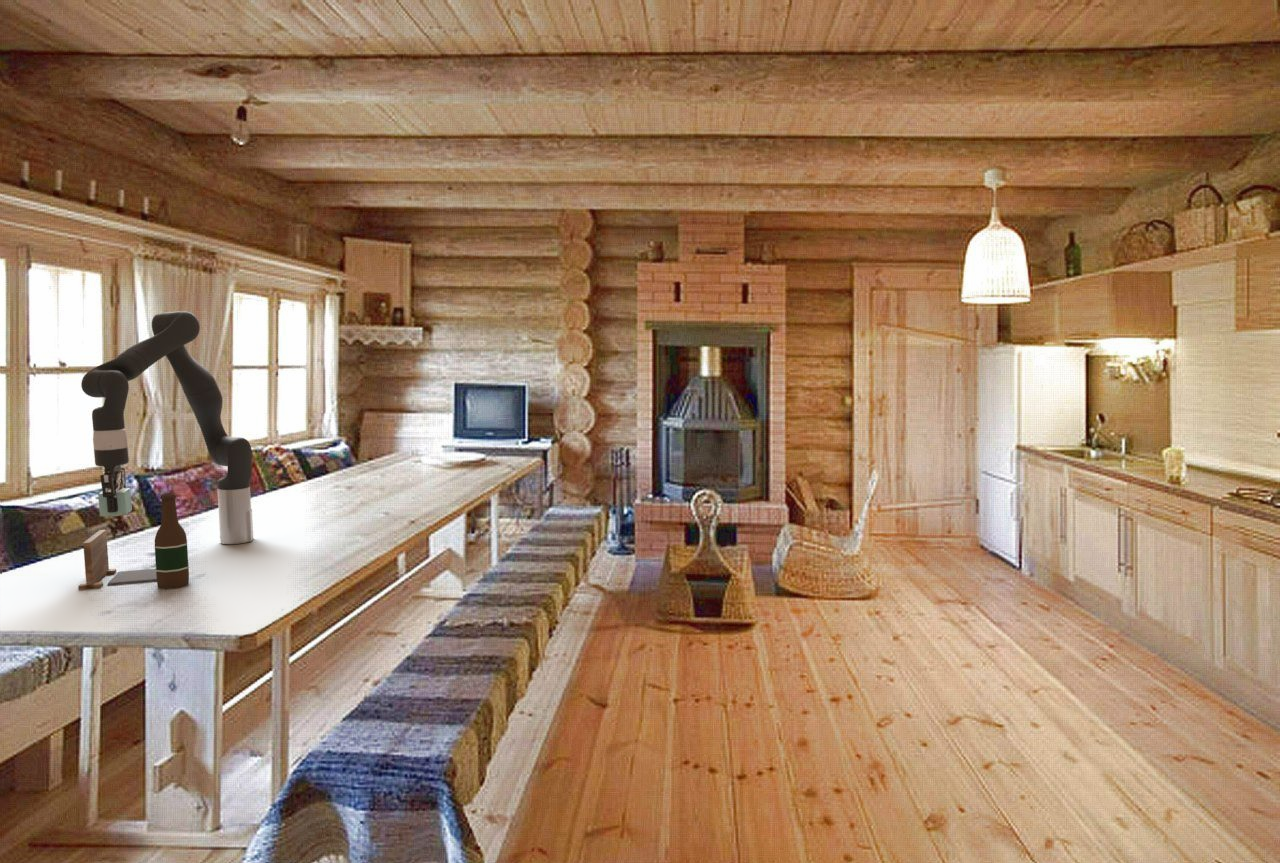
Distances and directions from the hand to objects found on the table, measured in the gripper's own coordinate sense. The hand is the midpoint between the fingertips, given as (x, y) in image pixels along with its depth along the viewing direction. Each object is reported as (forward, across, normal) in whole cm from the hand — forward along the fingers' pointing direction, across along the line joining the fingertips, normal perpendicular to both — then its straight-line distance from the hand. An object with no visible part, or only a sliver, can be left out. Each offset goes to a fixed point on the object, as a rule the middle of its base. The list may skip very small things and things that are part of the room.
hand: (116, 509), depth 221 cm
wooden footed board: (+19, -1, +5) cm, 19 cm away
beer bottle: (+19, -12, -14) cm, 27 cm away
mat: (+19, -1, -4) cm, 19 cm away
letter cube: (+1, 0, 0) cm, 1 cm away
